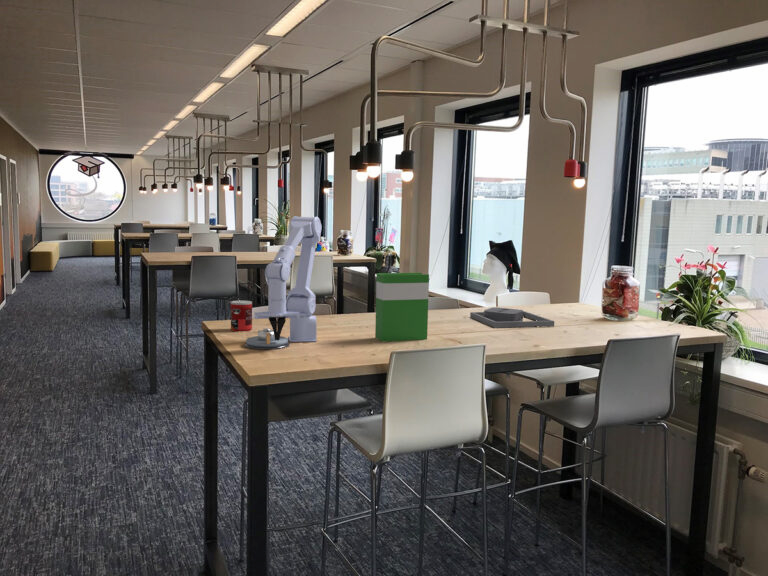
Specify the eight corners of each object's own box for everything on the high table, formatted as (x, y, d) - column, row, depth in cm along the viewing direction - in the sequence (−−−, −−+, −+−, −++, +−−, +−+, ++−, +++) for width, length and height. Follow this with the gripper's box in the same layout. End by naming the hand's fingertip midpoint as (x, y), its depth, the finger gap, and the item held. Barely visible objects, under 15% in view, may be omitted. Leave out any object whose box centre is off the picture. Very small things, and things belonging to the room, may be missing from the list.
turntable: (245, 339, 218) (245, 327, 217) (286, 338, 221) (286, 326, 221) (246, 348, 203) (246, 335, 203) (289, 347, 207) (290, 334, 206)
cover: (275, 337, 216) (275, 327, 216) (276, 341, 210) (276, 330, 210) (257, 338, 215) (257, 327, 214) (258, 341, 209) (258, 330, 208)
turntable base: (287, 340, 222) (287, 338, 222) (291, 349, 207) (291, 347, 207) (244, 341, 218) (244, 340, 218) (245, 350, 204) (245, 348, 204)
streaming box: (493, 318, 283) (493, 307, 283) (524, 321, 276) (524, 310, 275) (481, 322, 271) (482, 310, 270) (513, 326, 264) (514, 314, 263)
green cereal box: (419, 335, 236) (420, 272, 234) (427, 339, 229) (429, 274, 227) (375, 337, 230) (376, 273, 227) (382, 341, 223) (383, 275, 221)
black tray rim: (524, 316, 289) (525, 311, 289) (554, 326, 263) (554, 321, 263) (470, 317, 282) (470, 312, 282) (494, 328, 256) (494, 322, 256)
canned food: (229, 328, 241) (229, 300, 240) (249, 327, 244) (249, 300, 243) (232, 332, 234) (232, 303, 233) (253, 331, 237) (253, 302, 236)
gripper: (255, 301, 200) (255, 342, 201) (300, 300, 203) (300, 341, 205) (254, 298, 207) (254, 338, 208) (298, 297, 210) (297, 337, 212)
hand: (277, 339), depth 207 cm, fingers closed
